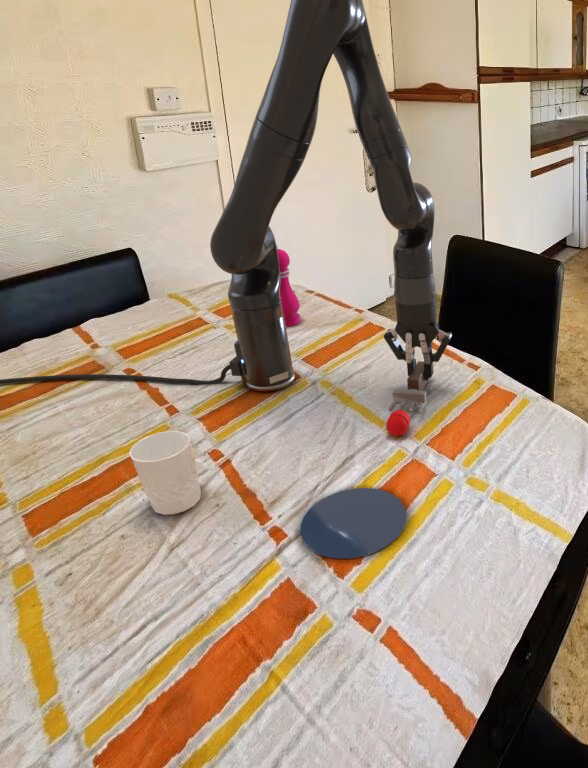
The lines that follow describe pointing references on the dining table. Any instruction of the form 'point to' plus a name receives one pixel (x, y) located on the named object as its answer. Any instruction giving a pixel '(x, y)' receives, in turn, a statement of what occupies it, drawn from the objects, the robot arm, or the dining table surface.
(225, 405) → the dining table surface
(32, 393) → the dining table surface
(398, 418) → the strawberry
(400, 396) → the fork
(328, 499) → the plate
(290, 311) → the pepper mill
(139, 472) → the white cup
